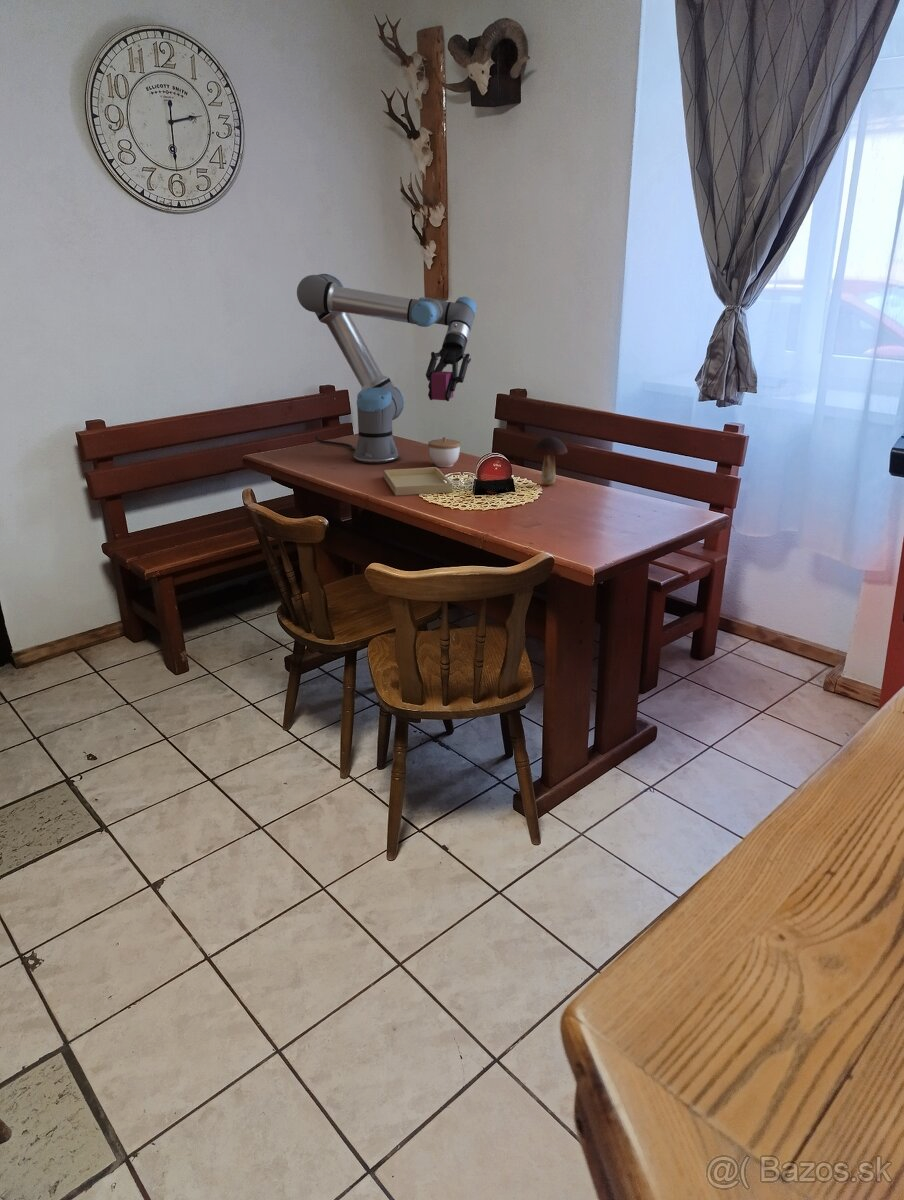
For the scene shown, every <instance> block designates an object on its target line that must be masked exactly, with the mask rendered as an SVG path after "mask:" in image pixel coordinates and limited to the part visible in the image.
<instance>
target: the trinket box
mask: <svg viewBox="0 0 904 1200" xmlns="http://www.w3.org/2000/svg"><path fill="white" fill-rule="evenodd" d="M427 444H428V454H429V458H430V460H431V462H432V463H433V464H434V465H435V467H437V468H451V467H453V466H454V464H456V463H457V462H458V460H459V457H460V452H461V441H459V440H458V439H452V438H451V439H450V438H447V437H446V436H442V438H440V439H439V438H438V439H432V440H429V441H428V443H427Z"/></svg>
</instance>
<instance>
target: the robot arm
mask: <svg viewBox="0 0 904 1200" xmlns="http://www.w3.org/2000/svg"><path fill="white" fill-rule="evenodd" d="M296 297H297V301H298V302H299V304H300V305H301V307H302V308H303V309H305V310H307V311H308V312H311V313H314V314H315V315H316V317H317V319H318V321H319V322H320V323H321V324H325V325H326V327H327V328H328V330H329V331H330V333H331V335H332V337H333V338H334V340H335V342H336V344H337V345H338V348H339V349H340V351H341V353H342V355H343V357H344V358H345V360H346V362H347V363H348V365H349V368H350V369H351V370H352V373H353V375H354V376H355V379H357V382H358V383H359V385H360V387H361V388H360V391H358V392H357V395H356V407H357V409H356V411H357V429H358V430H357V431H358V437H357V438H358V439H357V442H356V445H355V448H354V446H353V445H352V444H349V443H345V442H338V441H332V440H331V441H330V440H324V439H323V440H322V439H320V438H319V435H317V434H316V435H315V437H314V440H316V441H317V442H318V443H321V444H330V445H338V446H343V447H348V448H350V449H351V450H352V451H353V452H354V454H353V458H354V461H355V462H357V463H360V464H368V465H369V464H370V465H381V464H389V463H393V462H396V461H398V460H399V451H398V448H397V446H396V442H395V439H394V437H393V435H394V434H393V421H394V420H396V419H398V418H399V417H400V415H401V414H402V413H403V411H404V408H405V397H404V395H403V393H402V391H401V390H400V389H399V388H397V387H396V386H394V384H393V381H392V380H391V378H390V377H389V376H387V375H384V374H383V373H382V371H381V369H380V367H379V366H378V364H377V362H376V360H375V358H374V356H373V354H372V353H371V351H370V349H369V348H368V345H367V344H366V342H365V340H364V338H363V336H362V334H361V333H360V331H359V329H358V327H357V325H356V324H355V322H354V320H353V319H352V317H351V314H352V315H358V316H364V317H370V318H376V319H384V320H388V321H395V322H401V323H406V324H412V325H416V326H418V327H420V328H421V327H423V328H428V327H430V326H432V325H434V324H435V325H442V326H447V328H446V331H445V332H446V333H445V336H444V338H443V341H442V345H441V349H440V350H439V351H438V352H435V351H431V352H430V360H429V363H428V366H427V368H426V369H427V370H426V372H425V377H426V379H427V381H428V385H427V387H428V393H427V397H428V399H429V401H433V400H432V390H431V374H433V373H436V372H439V371H444V369H445V368H446V367H447V366H448V365H451V372H452V379H453V380H452V379H450V380H449V383H448V387H447V390H446V393H445V398H446V400H445V401H446V402H450V399H451V398H450V396H451V392H452V391H453V392H455V391H456V387H457V385H458V383H460V384H462V383H464V380H465V378H466V373H467V370H468V367H469V364H470V362H471V361H472V358H471V354H470V353H465V351H466V348H467V344H468V340H469V339H470V338H469V337H470V333H471V330H472V327H473V324H474V321H475V319H476V313H477V303H476V302H475V301H474V300H473V298H470V297H469V296H462V297H461V296H459V297H458V298H457V299H456V300H455V301H454V302H453V301H445V300H441V299H436V298H432V297H424V296H422V297H419V298H418V299H416V298H409V297H404V296H398V295H397V296H396V295H390V294H385V293H380V292H379V293H378V292H374V291H369V290H367V291H366V290H362V289H355V288H354V289H353V288H350V287H344V285H343V283H342V282H341V281H340V279H338V278H337V277H336V276H334V275H331V274H328V273H319V274H309V275H306V276H304V278H301V280H300V281H299V283H298V285H297V287H296ZM439 358H440V359H439ZM461 360H462V361H461ZM437 361H439V362H438V363H437ZM460 361H461V365H460V369H459V362H460ZM458 369H459V370H458ZM458 371H459V372H458Z"/></svg>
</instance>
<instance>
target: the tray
mask: <svg viewBox="0 0 904 1200" xmlns="http://www.w3.org/2000/svg"><path fill="white" fill-rule="evenodd" d="M383 478H384V481H386V483H387V485H388V486H389V487H390V489H391V491H392V492H393V494H394V495H395V496H412V495H422V494H423V495H425V494H427V495H428V494H443V493H453V483H452V482H451V480H449V478H448V477H447V476H446V475H445V473H443V472H442V471H441V470H440V469H439V467H438V466H432V467H415V468H414V467H412V468H398V469H397V468H396V469H395V468H394V469H384V470H383ZM443 480H446V481H447V483H445V482H444V481H443Z"/></svg>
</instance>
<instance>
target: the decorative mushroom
mask: <svg viewBox="0 0 904 1200" xmlns="http://www.w3.org/2000/svg"><path fill="white" fill-rule="evenodd" d="M531 452H532V453H534V454H535V453H536V454H537V455H542V456H544V457H543V463H542V469H541V482H542V484H543V485H545V486H548V487H550V486H553V485H554V484H555V481H556V457H555V456H560V455H565V454H567V453H569V450H568V449H567V446H566V444H564V443H563V441H561V440H560V439H558V438H557V437H555V436H546V437H543V438H542V439H540V440H539V441H537V442H536V443H535V444H534V445H533V446H532V448H531Z"/></svg>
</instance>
